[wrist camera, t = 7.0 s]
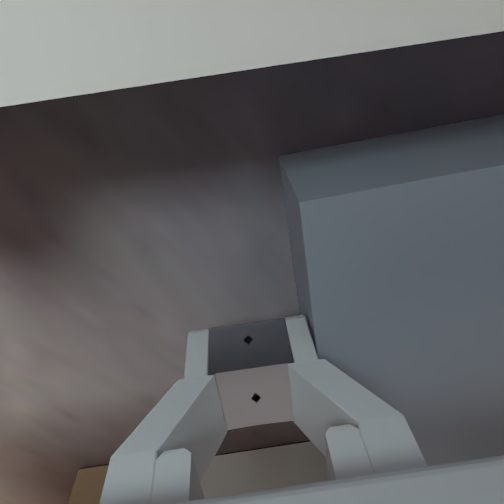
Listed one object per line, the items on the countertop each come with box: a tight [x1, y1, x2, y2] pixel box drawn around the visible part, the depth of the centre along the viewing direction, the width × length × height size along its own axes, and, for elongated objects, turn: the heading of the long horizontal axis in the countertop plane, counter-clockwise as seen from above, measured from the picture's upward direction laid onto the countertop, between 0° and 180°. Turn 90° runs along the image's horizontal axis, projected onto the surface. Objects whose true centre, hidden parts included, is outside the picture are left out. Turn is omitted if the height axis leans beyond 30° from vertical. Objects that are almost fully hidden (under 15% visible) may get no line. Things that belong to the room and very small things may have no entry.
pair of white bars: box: [0, 0, 504, 504], centre depth 10 cm, size 17×16×5 cm
